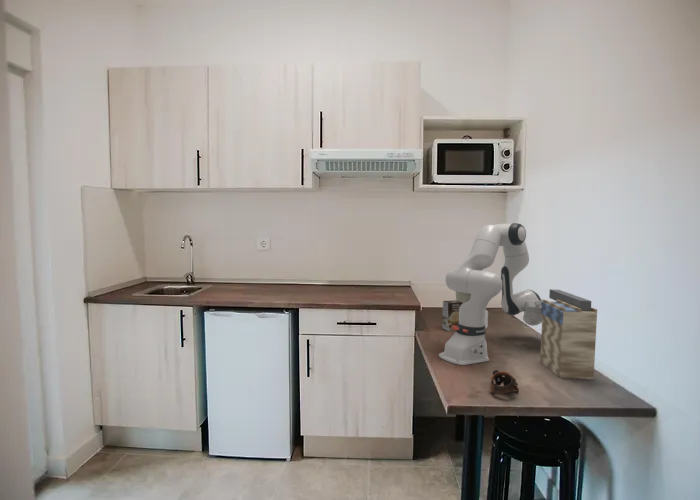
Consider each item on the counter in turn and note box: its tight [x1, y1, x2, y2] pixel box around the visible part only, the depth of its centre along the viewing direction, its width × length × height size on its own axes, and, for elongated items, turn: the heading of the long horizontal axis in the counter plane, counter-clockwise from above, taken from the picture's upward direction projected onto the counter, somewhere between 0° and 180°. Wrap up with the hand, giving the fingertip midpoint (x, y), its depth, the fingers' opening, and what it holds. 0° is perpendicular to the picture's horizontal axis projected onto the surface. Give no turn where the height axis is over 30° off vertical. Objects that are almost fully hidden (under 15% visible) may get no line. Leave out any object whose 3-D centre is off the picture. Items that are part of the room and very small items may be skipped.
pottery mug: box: [490, 369, 520, 395], centre depth 128 cm, size 12×10×8 cm
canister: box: [455, 291, 471, 303], centre depth 240 cm, size 18×18×21 cm
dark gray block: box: [548, 288, 592, 311], centre depth 152 cm, size 26×4×4 cm, turn 175°
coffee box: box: [441, 299, 463, 332], centre depth 206 cm, size 9×6×16 cm
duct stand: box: [539, 298, 598, 380], centre depth 148 cm, size 18×13×27 cm
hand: (554, 301), depth 165 cm, fingers open, 8 cm apart
